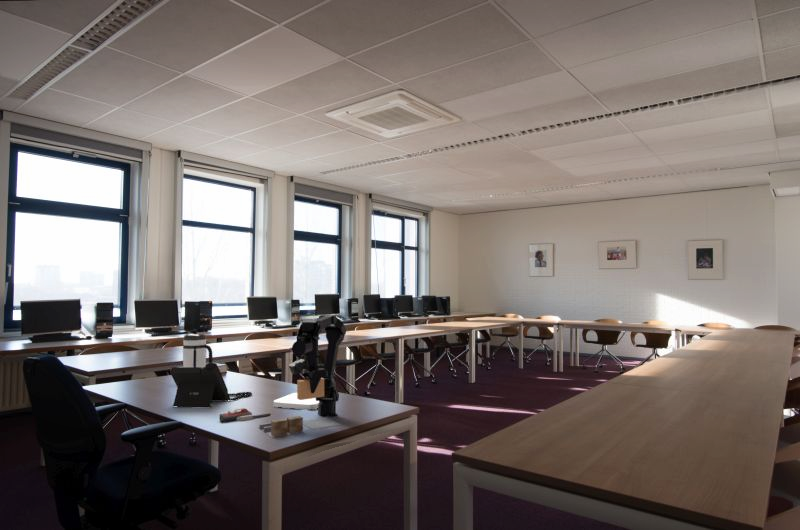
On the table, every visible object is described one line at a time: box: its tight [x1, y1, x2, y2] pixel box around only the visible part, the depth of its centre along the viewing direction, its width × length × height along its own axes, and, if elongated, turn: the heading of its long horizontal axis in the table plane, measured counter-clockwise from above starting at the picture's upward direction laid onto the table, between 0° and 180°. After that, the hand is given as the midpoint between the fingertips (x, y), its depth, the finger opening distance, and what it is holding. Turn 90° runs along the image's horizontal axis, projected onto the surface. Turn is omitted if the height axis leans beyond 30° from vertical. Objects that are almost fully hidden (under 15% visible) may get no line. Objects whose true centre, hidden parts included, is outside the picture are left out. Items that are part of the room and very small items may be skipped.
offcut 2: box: [286, 415, 304, 434], centre depth 182 cm, size 5×3×5 cm, turn 125°
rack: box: [258, 422, 306, 438], centre depth 185 cm, size 13×15×2 cm
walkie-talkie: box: [219, 407, 271, 424], centre depth 202 cm, size 9×4×20 cm
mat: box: [303, 417, 341, 431], centre depth 193 cm, size 12×13×1 cm
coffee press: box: [182, 328, 213, 368], centre depth 285 cm, size 17×16×30 cm
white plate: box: [273, 391, 319, 411], centre depth 229 cm, size 22×22×3 cm
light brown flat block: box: [296, 378, 324, 400], centre depth 193 cm, size 10×3×7 cm, turn 123°
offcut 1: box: [270, 417, 288, 437], centre depth 179 cm, size 5×3×5 cm, turn 125°
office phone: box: [169, 361, 253, 408], centre depth 236 cm, size 29×28×20 cm
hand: (311, 392), depth 193 cm, fingers closed on light brown flat block, 3 cm apart
